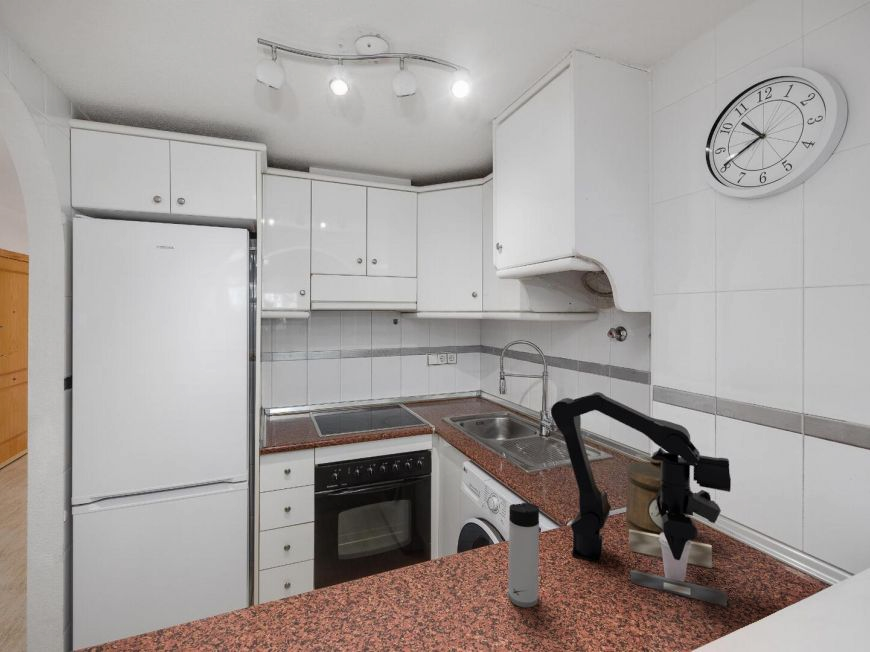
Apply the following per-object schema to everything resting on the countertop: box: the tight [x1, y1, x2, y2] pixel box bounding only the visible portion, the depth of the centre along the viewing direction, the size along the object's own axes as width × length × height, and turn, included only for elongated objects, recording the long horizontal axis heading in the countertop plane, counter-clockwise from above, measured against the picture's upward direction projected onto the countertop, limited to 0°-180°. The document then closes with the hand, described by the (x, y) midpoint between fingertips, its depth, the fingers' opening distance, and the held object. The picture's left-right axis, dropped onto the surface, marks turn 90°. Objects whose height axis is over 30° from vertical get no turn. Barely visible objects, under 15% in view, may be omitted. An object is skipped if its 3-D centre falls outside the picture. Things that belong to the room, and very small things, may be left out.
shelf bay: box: [628, 529, 728, 607], centre depth 95 cm, size 18×16×5 cm
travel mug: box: [507, 502, 540, 608], centre depth 86 cm, size 6×7×20 cm
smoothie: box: [659, 532, 692, 582], centre depth 93 cm, size 6×6×14 cm
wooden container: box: [625, 456, 688, 535], centre depth 113 cm, size 15×15×22 cm
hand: (674, 548), depth 93 cm, fingers open, 9 cm apart
